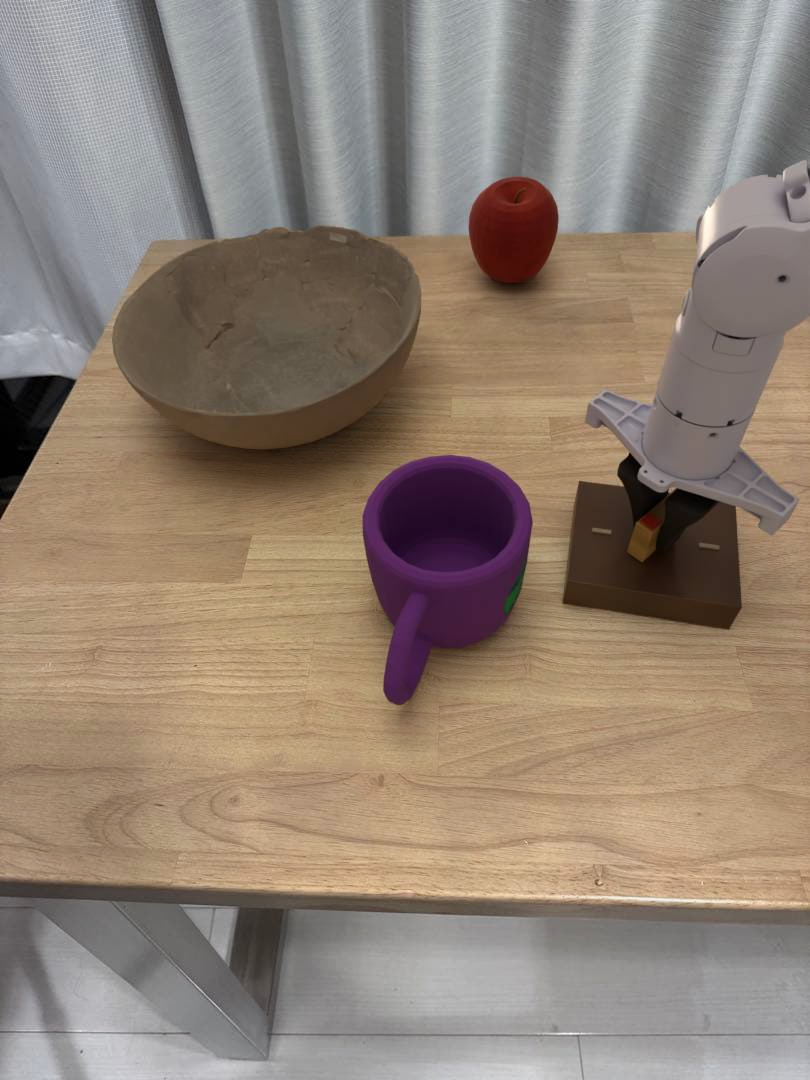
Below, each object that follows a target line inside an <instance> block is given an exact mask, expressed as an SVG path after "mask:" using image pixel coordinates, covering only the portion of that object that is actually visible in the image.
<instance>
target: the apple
mask: <svg viewBox="0 0 810 1080" xmlns="http://www.w3.org/2000/svg"><path fill="white" fill-rule="evenodd" d="M559 217H560V215H559V209H558V204H557V202H556V200H555V198H554V196H553V193H551V191H550V190H549V189H548V188H547V187H546V186H544V185H543V183H541V182H540V181H538V180H536V179H534V178H530V177H527V176H510V177H509V176H508V177H504V178H502V179H498V180H497V181H495V182H493V183H491V184H490V185H489V186H487V187H486V188H485V189H483V190H482V191H481V192H479V194H478V195H477V197H476V198H475V200H474V202H473V204H472V205H471V209H470V212H469V216H468V226H467V227H468V237H469V241H470V246H471V251H472V253H473V256H474V260H475V261H476V263H477V265H478V266H479V268H480V269H481V270H482V272H483V273H484V274H485V275H486V276H487V277H489V278H490V279H492V280H494V281H496V282H499V283H504V284H521V283H524V282H527V281H529V280H531V279H533V278H534V277H536V276H537V275H538V273H540V271H541V270H542V269H543V268H544V267H545V265H546V263H547V261H548V259H549V257H550V255H551V253H552V250H553V247H554V245H555V242H556V239H557V234H558V231H559V222H560V221H559V219H560V218H559Z"/></svg>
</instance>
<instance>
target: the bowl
mask: <svg viewBox="0 0 810 1080" xmlns="http://www.w3.org/2000/svg"><path fill="white" fill-rule="evenodd" d="M421 314H422V290H421V283H420V278H419V275H418V274H417V272H416V269H415V267H414V265H413V263H412V262H411V260H409V258H408V256H407V255H405V254H404V253H403V252H401V251H400V249H398V248H396V247H395V246H394V245H393V244H391V243H388V242H384V241H383V242H382V241H379V239H377V238H375V237H373V236H367V235H366V234H365V233H363V232H362V231H359V230H357V229H351V228H347V227H344V226H343V227H341V226H333V225H324V224H316V225H313V226H310V227H308V228H307V229H306V230H292V231H290V230H289V229H288V228H287V227H283V226H280V225H279V226H275V227H272V228H270V229H269V228H264V229H261V230H260V231H258V232H257V233H252V234H250V235H246V236H241V237H234V238H230V239H229V238H225V239H222V240H215V241H211V242H209V243H206V244H202V245H199V246H197V247H194V248H191V249H190V250H188V251H185V252H184V253H181V254H180V255H178V256H176V257H174V258H172V259H171V260H169V261H167V262H166V263H164V264H163V265H162V266H161V267H159V268H158V269H157V270H155V271H154V272H153V273H152V274H150V275H149V277H147V278H146V279H145V280H144V281H143V282H142V283H141V284H140V285H139V286H138V288H137V289H135V291H133V293H132V294H130V295H129V297H127V298H126V300H125V301H124V302H123V304H122V306H121V308H120V310H119V312H118V313H117V316H116V318H115V321H114V324H113V328H112V336H111V344H112V352H113V357H114V358H115V361H116V364H117V367H118V368H119V371H120V372H121V374H122V376H123V377H124V378H125V379H126V381H127V382H128V384H129V385H130V386H131V388H132V389H133V390H134V391H135V392H136V393H137V394H138V395H139V396H140V397H141V398H142V399H143V400H144V401H145V402H146V403H147V404H148V405H150V406H151V407H152V408H153V409H154V410H155V411H156V412H157V413H158V414H160V415H161V416H162V417H163V418H165V419H166V420H168V421H169V422H171V423H172V424H173V425H175V426H176V427H178V428H179V429H181V430H184V431H186V432H187V433H190V434H192V435H194V436H196V437H197V438H201V439H203V440H205V441H208V442H212V443H215V444H219V445H223V446H226V447H232V448H240V449H246V450H273V449H287V448H291V447H296V446H301V445H306V444H310V443H312V442H315V441H318V440H321V439H323V438H326V437H328V436H331V435H333V434H335V433H337V432H339V431H341V430H342V429H344V428H346V427H348V426H350V425H352V424H354V423H356V422H357V421H358V420H359V419H361V418H363V417H364V416H366V414H368V413H369V412H370V411H371V410H372V409H373V408H374V407H375V406H377V405H378V403H379V402H381V400H382V399H383V398H384V397H385V395H386V394H387V393H388V392H389V391H390V389H391V388H392V386H394V384H395V383H396V381H397V379H398V378H399V376H400V375H401V373H402V371H403V369H404V367H405V365H406V363H407V361H408V360H409V359H408V358H409V356H410V354H411V351H412V350H413V349H412V348H413V346H414V342H415V340H416V336H417V332H418V329H419V324H420V320H421V319H420V318H421Z"/></svg>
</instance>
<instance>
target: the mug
mask: <svg viewBox="0 0 810 1080" xmlns="http://www.w3.org/2000/svg"><path fill="white" fill-rule="evenodd" d="M532 531H533V515H532V510H531V505H530V501H529V500H528V498H527V497H526V495H525V493H524V491H523V489H522V488H521V486H520V484H518V483H517V482H516V481H514V480H513V478H511V476H509V475H508V474H507V473H506V472H505V471H503V470H502V469H500V468H498V467H496V466H495V465H493V464H491V463H490V462H487V461H483V460H481V459H478V458H475V457H471V456H465V455H457V454H456V455H455V454H442V455H430V456H426V457H422V458H419V459H416V460H415V459H414V460H412V461H409V462H407V463H405V464H403V465H401V466H398V467H397V468H395V469H393V470H392V471H391V472H390V473H388V474H387V475H386V476H385V477H384V478H382V479H381V480H380V481H379V482H378V484H377V485H376V486H375V488H374V489H373V490H372V492H371V493H370V495H369V496H368V498H367V501H366V504H365V506H364V510H363V513H362V539H363V545H364V551H365V558H366V562H367V567H368V570H369V575H370V579H371V582H372V586H373V589H374V591H375V593H376V596H377V599H378V601H379V604H380V606H381V609H382V611H383V613H384V614H385V616H386V617H387V618H388V620H389V621H390V622H391V624H392V625H393V626H394V629H393V632H392V634H391V639H390V642H389V646H388V653H387V656H386V662H385V666H384V667H385V668H384V674H383V685H382V691H383V693H384V696H385V698H386V700H387V701H388V702H389V703H391V704H393V705H395V706H403V705H405V704H407V702H409V701H410V700H412V698H413V696H414V694H415V692H416V690H417V689H418V686H419V684H420V682H421V678H422V676H423V674H424V671H425V668H426V665H427V662H428V660H429V657H430V653H431V650H432V648H436V649H444V650H445V649H458V648H464V647H469V646H471V645H474V644H477V643H480V642H482V641H483V640H485V639H487V638H488V637H490V636H491V635H493V634H494V633H496V632H497V631H498V630H499V629H500V628H502V626H503V625H504V624H505V622H507V621H508V619H509V617H510V615H511V613H512V611H513V609H514V607H515V604H516V602H517V600H518V598H519V596H520V593H521V592H522V591H521V590H522V587H523V582H524V579H525V575H526V568H527V565H528V557H529V550H530V544H531V537H532Z"/></svg>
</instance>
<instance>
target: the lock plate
mask: <svg viewBox="0 0 810 1080" xmlns="http://www.w3.org/2000/svg"><path fill="white" fill-rule="evenodd" d="M670 492H671V491H668V494H669V493H670ZM737 521H738V520H737V507H736V506H733V505H730V504H727V503H723V502H719V503H718V504H717V505H716V506H715V507H714V508H713V509H712V510H711V511H710V512H709V513H707V514H706V515H705V516H704V517H703V518H702V519H700V520H699V521H697V522H696V523H694V524H692V525H690V526H688V527H686V529H685V530H684V531H683V533H682V534H681V536H680V538H679V539H678V540H677V541H676V542H675V543H674V544H673V545H672V546H671V547H670V548H669V549H668V550H666V551H665V552H661V551H660V550H658V549H656V550H655V551H654V552H653V553H652V554H651V555H650V556H649V557H648V558H646V559H645V560H644V561H643V562H640V561H639V560H637V559H636V558H634V557H633V556H632V555H630V554H629V553H627V550H628V547H629V544H630V540H631V537H632V534H633V531H634V528H633V516H632V509H631V504H630V500H629V497H628V494H627V492H626V489H625V487H624V485H615V484H607V483H599V482H593V481H585V480H578V482H577V487H576V492H575V498H574V503H573V509H572V519H571V527H570V536H569V545H568V551H567V552H568V553H567V561H566V570H565V578H564V587H563V596H562V604H566V605H573V606H579V607H585V608H592V609H597V610H604V611H610V612H617V613H622V614H630V615H635V616H642V617H647V618H653V619H660V620H667V621H672V622H673V621H674V622H679V623H684V624H692V625H697V626H704V627H711V628H716V629H722V630H730V629H731V627H732V625H733V624H734V622H735V620H736V618H737V617H738V615H739V613H740V612H741V610H742V608H743V607H742V589H741V586H742V585H741V572H740V571H741V570H740V555H739V538H738V537H739V536H738V522H737Z"/></svg>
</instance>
